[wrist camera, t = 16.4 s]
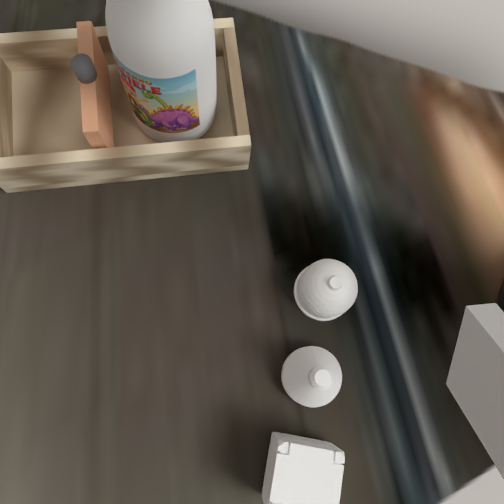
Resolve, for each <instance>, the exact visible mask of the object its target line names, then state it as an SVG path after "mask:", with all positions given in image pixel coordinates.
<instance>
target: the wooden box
mask: <svg viewBox="0 0 504 504" xmlns="http://www.w3.org/2000/svg"><path fill="white" fill-rule="evenodd" d="M213 22H214V32H215V48H216V85H217V108H216V116H215V119H214V122H213V124H212V125H211V127H210V128H209V130H208V131H207V132H206V133H205V134H204V135H203V136H201V137H200V138H198V139H197V140H186V141H175V142H164V143H161V142H158V141H156V140H154V139H152V138H151V137H149V136H148V135H147V134H145V133H144V132H143V131H142V129H141V128H140V127H139V125H138V123H137V121H136V119H135V116H134V114H133V111H132V108H131V105H130V103H129V100H128V97H127V94H126V91H125V88H124V86H123V83H122V80H121V77H120V74H119V71H118V68H117V65H116V62H115V59H114V56H113V53H112V49H111V46H110V42H109V39H108V34H107V28H106V26H102V27H94V29H95V32H96V35H97V37H98V40H99V43H100V45H101V48H102V50H103V53H104V56H105V58H106V61H107V64H108V68H109V82H110V96H111V109H112V123H113V137H114V147H109V148H98V149H92V147H91V145H90V144H89V142H88V141H87V139H86V137H85V136H84V134H83V129H82V112H81V94H80V81H79V80H78V78H77V76H76V74H75V72H74V70H73V69H72V67H71V59H72V58H73V57H74V56H75V55H77V54H78V41H77V28H73V29H58V30H43V31H29V32H14V33H0V188H2V189H3V190H4V191H5V192H7V193H11V192H22V191H32V190H42V189H52V188H62V187H72V186H83V185H93V184H103V183H113V182H123V181H133V180H144V179H154V178H164V177H174V176H184V175H195V174H205V173H215V172H225V171H235V170H245V169H248V166H249V158H250V151H251V140H250V133H249V126H248V119H247V112H246V105H245V98H244V91H243V84H242V77H241V70H240V63H239V56H238V49H237V42H236V35H235V28H234V21H233V18H219V19H213Z"/></svg>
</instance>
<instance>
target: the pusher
mask: <svg viewBox="0 0 504 504" xmlns="http://www.w3.org/2000/svg"><path fill="white" fill-rule="evenodd" d="M76 23H77V41H78V54H77V55H75V56H74V57H73V58H72V59H71V67H72V69H73V70H74V72H75V74H76V76H77V78H78V80H79V81H80V94H81V112H82V129H83V134H84V136H85V137H86V139H87V141H88V142H89V144H90V145H91V147H92V149H98V148H109V147H114V137H113V123H112V109H111V96H110V82H109V68H108V64H107V61H106V58H105V56H104V53H103V50H102V48H101V45H100V43H99V40H98V37H97V35H96V32H95V29H94V27H93V24H92V21H83V22H76Z"/></svg>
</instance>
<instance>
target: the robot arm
mask: <svg viewBox="0 0 504 504" xmlns="http://www.w3.org/2000/svg"><path fill="white" fill-rule="evenodd" d="M446 385H447V387H448V388H449V390H450V392H451V393H452V395H453V396H454V398H455V400H456V401H457V403H458V405H459V406H460V408H461V410H462V411H463V413H464V415H465V416H466V418H467V419H468V421H469V423H470V424H471V426H472V428H473V429H474V431H475V433H476V434H477V436H478V438H479V439H480V441H481V442H482V444H483V446H484V447H485V449H486V451H487V452H488V454H489V456H490V457H491V459H492V460H493V462H494V464H495V465H496V467H497V469H498V470H499V472H500V474H501V475H502V477H503V479H504V282H503V284H502V287H501V290H500V294H499V299H498V305H497V304H496V303H489V304H479V305H469V306H466V308H465V312H464V316H463V320H462V324H461V327H460V331H459V335H458V339H457V343H456V347H455V351H454V354H453V358H452V362H451V366H450V370H449V374H448V378H447V381H446Z"/></svg>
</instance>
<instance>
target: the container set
mask: <svg viewBox="0 0 504 504" xmlns="http://www.w3.org/2000/svg"><path fill="white" fill-rule="evenodd" d="M357 293H358V285H357V280H356V277H355V275H354V273H353V271H352V270H351V269H350V268H349V267H348V266H347V265H345V264H344V263H342V262H340V261H338V260H334V259H322V260H318V261H316V262H314V263H312V264H311V265H310V266H308V267H306V268H305V269H304V270H302V271H301V273H300V274H299V275H298V277H297V279H296V281H295V285H294V298H295V301H296V303H297V305H298V307H299V308H300V310H301V311H302V312H303V313H304V314H306V315H307V316H308V317H310V318H312V319H315V320H319V321H329V320H332V319H335V318H337V317H339V316H341V315H342V314H343V313H345V312H346V311H347V310H348V309H349V308H350V307H351V306H352V305H353V304H354V302H355V300H356V297H357ZM281 379H282V384H283V387H284V389H285V391H286V393H287V394H288V395H289V397H290V398H291V399H293V400H294V401H295V402H297V403H299V404H301V405H303V406H306V407H321V406H324V405H326V404H328V403H329V402H331V401H332V400H333V399H334V398H335V397H336V395H337V394H338V392H339V390H340V388H341V384H342V372H341V368H340V365H339V363H338V361H337V359H336V358H335V357H334V356H333V355H332V354H331V353H330V352H329V351H327V350H325V349H323V348H321V347H317V346H307V347H302V348H299V349H297V350H295V351H293V352H292V353H291V354H290V355H289V356H288V357H287V359H286V360H285V362H284V364H283V367H282V372H281ZM270 440H271V442H270V446H269V452H268V458H267V464H266V470H265V476H264V482H263V485H264V486H263V488H262V499H263V503H264V504H339V501H340V494H341V486H342V478H343V470H344V465H342V464H341V463H343V464H344V463H345V456H344V452H343V451H342V450H341V449H339V448H338V447H336V446H335V445H334V444H332V443H330V442H327V441H321V440H317V439H311V438H306V437H301V436H296V435H290V434H285V433H282V434H281V433H280V432H272V435H271V439H270Z"/></svg>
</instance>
